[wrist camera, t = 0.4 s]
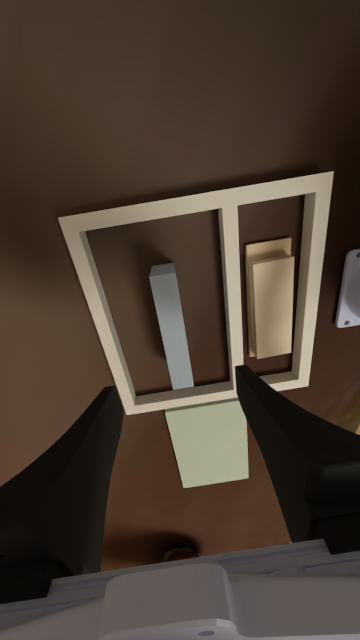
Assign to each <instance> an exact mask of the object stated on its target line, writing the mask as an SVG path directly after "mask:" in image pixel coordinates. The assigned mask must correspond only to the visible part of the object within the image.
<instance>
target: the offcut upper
mask: <svg viewBox="0 0 360 640" xmlns="http://www.w3.org/2000/svg"><path fill="white" fill-rule="evenodd" d="M248 265H249V284H250V303H251V321H252V340H253V353H254V355H255V356H256V358H257V359H260V358H265V357H271V356H276V355H281V354H286V353H291V340H292V311H293V281H294V256H290V255H283V256H278V257H273V258H268V259H263V260H258V261H253V262H248Z"/></svg>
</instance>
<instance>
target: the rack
mask: <svg viewBox="0 0 360 640" xmlns="http://www.w3.org/2000/svg"><path fill="white" fill-rule="evenodd" d="M333 173H334V171H332V172H326V173H320V174H314V175H308V176H302V177H296V178H290V179H285V180H279V181H273V182H267V183H261V184H255V185H249V186H243V187H237V188H231V189H225V190H219V191H213V192H207V193H202V194H196V195H190V196H184V197H178V198H172V199H166V200H160V201H154V202H148V203H142V204H136V205H130V206H125V207H119V208H113V209H107V210H101V211H95V212H89V213H83V214H77V215H71V216H65V217H59V218H58V220H59V223H60V226H61V228H62V231H63V234H64V237H65V240H66V243H67V246H68V248H69V251H70V254H71V257H72V260H73V263H74V266H75V268H76V271H77V274H78V277H79V280H80V283H81V286H82V288H83V291H84V294H85V297H86V300H87V303H88V306H89V308H90V311H91V314H92V317H93V320H94V323H95V326H96V328H97V331H98V334H99V337H100V340H101V343H102V346H103V348H104V351H105V354H106V357H107V360H108V363H109V366H110V368H111V371H112V374H113V377H114V380H115V383H116V386H117V388H118V391H119V394H120V397H121V400H122V403H123V406H124V408H125V411H126V414H127V415H131V414H137V413H143V412H149V411H156V410H162V409H168V408H174V407H181V406H187V405H193V404H199V403H206V402H212V401H218V400H224V399H231V398H237V397H238V396H237V393H236V377H235V366H238V365H243V341H242V315H241V288H240V262H239V236H238V209H237V205H243V204H249V203H255V202H261V201H267V200H273V199H279V198H285V197H291V196H296V195H302V194H305V203H304V216H303V229H302V242H301V256H300V269H299V282H298V295H297V308H296V321H295V335H294V348H293V361H292V371H290V372H284V373H278V374H272V375H266V376H259V377H260V378H261V379H262V380H263V381H265V382H266V383H267V384H268V385H270V386H271V387H272V388H273V389H275V390H276V391H281V390H287V389H293V388H299V387H306V386H308V384H309V375H310V367H311V358H312V350H313V342H314V333H315V325H316V316H317V308H318V300H319V291H320V283H321V274H322V266H323V258H324V249H325V241H326V232H327V224H328V216H329V207H330V199H331V190H332V182H333ZM213 209H218V216H219V230H220V244H221V258H222V272H223V286H224V300H225V314H226V328H227V342H228V356H229V371H230V381H228V382H222V383H216V384H209V385H203V386H197V387H191V388H185V389H178V390H172V391H166V392H160V393H153V394H147V395H141V396H136V394H135V391H134V388H133V384H132V381H131V378H130V375H129V371H128V368H127V365H126V362H125V359H124V355H123V352H122V349H121V346H120V342H119V339H118V336H117V333H116V330H115V326H114V323H113V320H112V317H111V313H110V310H109V307H108V304H107V301H106V297H105V294H104V291H103V288H102V284H101V281H100V278H99V275H98V271H97V268H96V265H95V262H94V259H93V255H92V252H91V249H90V246H89V242H88V239H87V236H86V233H85V231H88V230H94V229H100V228H106V227H112V226H118V225H124V224H130V223H136V222H142V221H148V220H154V219H160V218H166V217H171V216H177V215H183V214H189V213H195V212H201V211H207V210H213Z"/></svg>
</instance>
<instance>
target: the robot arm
mask: <svg viewBox="0 0 360 640" xmlns="http://www.w3.org/2000/svg"><path fill="white" fill-rule="evenodd" d="M358 253H359V255H358V257H357V254H358ZM345 322H346V323H345ZM335 325H336V326H337V327H339V328H343V327H349V326H355V325H360V249H356V250H351V251H349V252H348V253H347V255H346V259H345V265H344V271H343V277H342V284H341V290H340V296H339V302H338V309H337V315H336V321H335ZM235 377H236V393H237V396H238V399H239V402H240V405H241V408H242V410H243V413H244V415H245V417H246V419H247V421H248V423H249V426H250V428H251V430H252V432H253V434H254V436H255V439H256V441H257V443H258V445H259V447H260V450H261V452H262V455H263V458H264V460H265V463H266V466H267V469H268V472H269V475H270V477H271V480H272V483H273V486H274V489H275V492H276V495H277V498H278V501H279V504H280V507H281V510H282V513H283V516H284V519H285V522H286V526H287V529H288V532H289V535H290V538H291V541H292V543H289V544H283V545H276V546H270V547H263V548H256V549H250V550H243V551H236V552H230V553H223V554H216V555H210V556H203V557H196V558H190V559H183V560H176V561H170V562H163V563H156V564H150V565H143V566H137V567H130V568H123V569H117V570H110V571H103V572H100V568H101V555H102V543H103V533H104V523H105V514H106V506H107V498H108V491H109V484H110V477H111V472H112V467H113V463H114V459H115V455H116V450H117V446H118V442H119V438H120V434H121V429H122V422H123V412H124V410H123V408H122V405H121V402H120V399H119V396H118V394H117V391H116V388H115V386H109V387H104V388H103V390H102V391H101V392H100V393H99V394H98V396H97V397H96V398H95V399H94V401H93V402H92V403H91V404H90V406H89V407H88V408H87V409H86V410H85V412H84V413H83V414H82V415H81V416H80V417H79V418H78V420H77V421H76V422H75V423H74V424H73V425H72V426H71V427H70V428H69V429H68V431H67V432H66V433H65V434H64V435H63V436H62V437H61V438H60V439H59V440H57V441H56V442H55V443H54V444H53V445H52V446H51V447H50V448H49V449H48V450H47V451H45V452H44V453H43V454H42V455H41V456H40V457H38V458H37V459H36V460H35V461H34V462H33V463H31V464H30V465H29V466H28V467H26V468H25V469H24V470H23V471H21V472H20V473H19V474H17V475H16V476H15V477H13V478H12V479H11V480H9V481H8V482H6V483H5V484H4V485H2V486H1V487H0V640H360V435H358V434H355V433H353V432H350V431H348V430H345V429H343V428H341V427H339V426H336V425H334V424H332V423H330V422H328V421H326V420H323V419H321V418H320V417H318V416H316V415H314V414H312V413H310V412H308V411H306V410H305V409H303V408H301V407H300V406H298V405H296V404H295V403H293V402H291V401H290V400H288V399H287V398H286V397H284V396H283V395H281V394H280V393H279V392H277V391H276V390H275V389H273V388H272V387H271V386H270V385H268V384H267V383H266V382H265V381H263V380H262V379H261V378H260V377H259V376H258V375H257V374H255V373H254V372H253V371H252V370H251V369H250V368H249V367H248V366H247V365H238V366H235Z"/></svg>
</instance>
